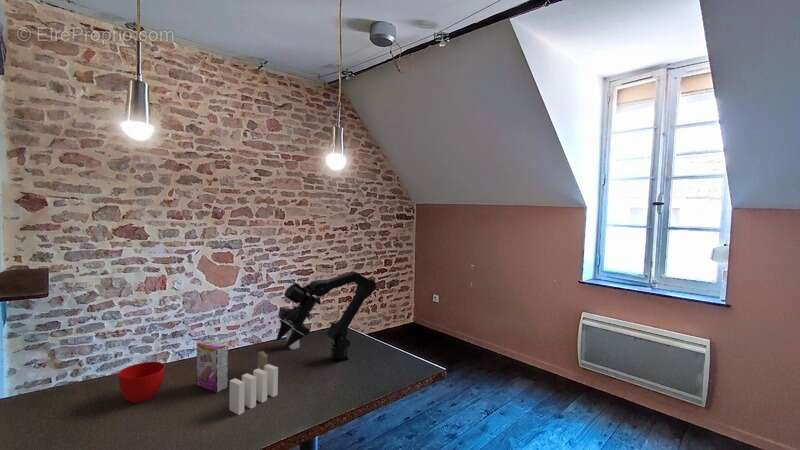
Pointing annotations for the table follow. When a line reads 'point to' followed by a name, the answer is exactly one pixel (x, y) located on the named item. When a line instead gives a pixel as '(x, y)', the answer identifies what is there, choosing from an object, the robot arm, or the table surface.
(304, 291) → the robot arm
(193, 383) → the table surface
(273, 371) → the domino
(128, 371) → the red bowl
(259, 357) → the domino
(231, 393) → the domino
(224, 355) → the candy bar box
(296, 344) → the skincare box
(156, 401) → the table surface
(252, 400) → the domino
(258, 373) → the domino
